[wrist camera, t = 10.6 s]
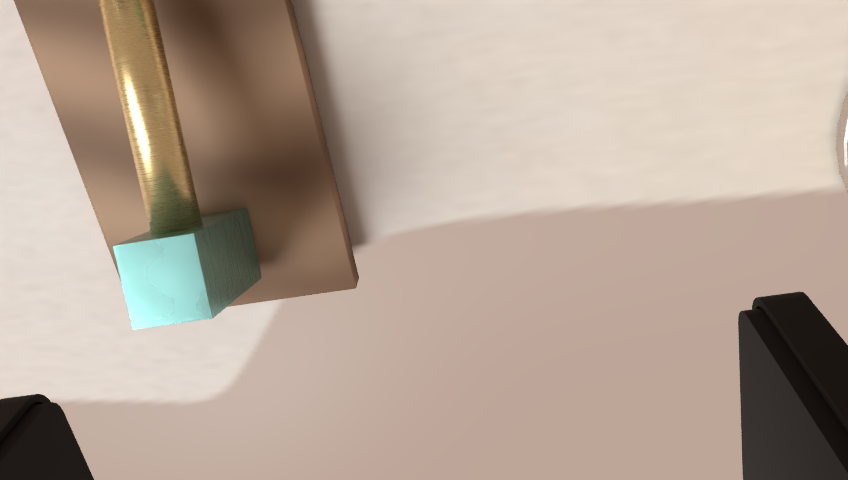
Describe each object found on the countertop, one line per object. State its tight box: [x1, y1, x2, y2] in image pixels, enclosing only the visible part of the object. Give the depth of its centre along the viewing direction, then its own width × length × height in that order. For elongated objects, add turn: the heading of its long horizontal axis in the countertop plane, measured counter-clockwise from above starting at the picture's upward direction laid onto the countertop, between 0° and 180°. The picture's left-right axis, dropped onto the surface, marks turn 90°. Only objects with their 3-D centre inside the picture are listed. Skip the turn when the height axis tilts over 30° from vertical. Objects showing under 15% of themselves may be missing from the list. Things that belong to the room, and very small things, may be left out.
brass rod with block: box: [97, 0, 262, 330], centre depth 35 cm, size 18×4×7 cm, turn 11°
